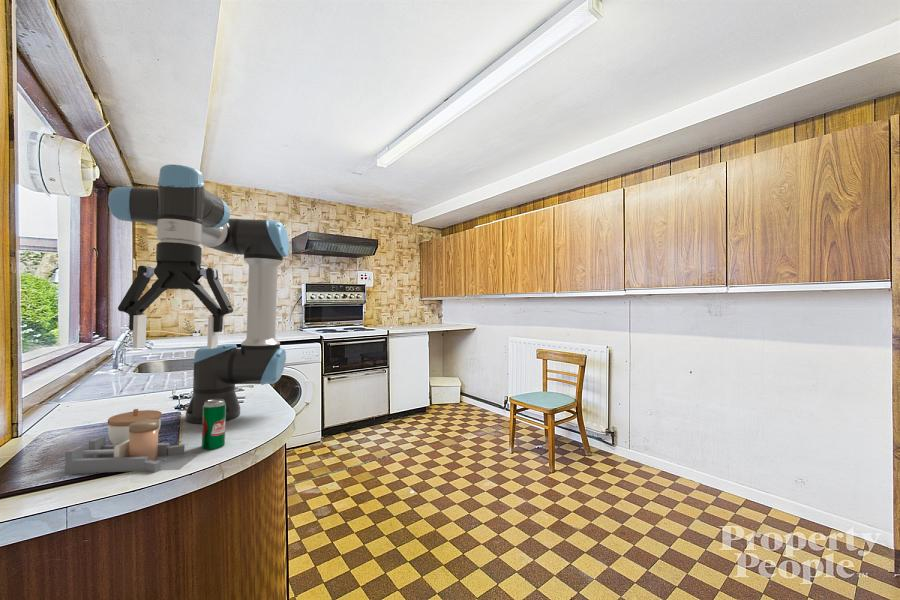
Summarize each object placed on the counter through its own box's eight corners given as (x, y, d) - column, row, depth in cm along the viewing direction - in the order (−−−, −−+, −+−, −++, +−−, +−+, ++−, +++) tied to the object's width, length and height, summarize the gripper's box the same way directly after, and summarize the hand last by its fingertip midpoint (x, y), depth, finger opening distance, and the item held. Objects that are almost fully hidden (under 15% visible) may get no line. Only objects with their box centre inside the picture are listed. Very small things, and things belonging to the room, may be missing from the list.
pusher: (85, 457, 88) (85, 438, 88) (137, 455, 90) (138, 436, 90) (61, 468, 82) (62, 448, 82) (118, 466, 84) (119, 446, 84)
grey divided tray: (102, 455, 91) (103, 434, 91) (203, 452, 94) (203, 432, 94) (60, 477, 80) (61, 453, 80) (176, 473, 83) (177, 450, 83)
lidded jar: (157, 435, 105) (158, 401, 105) (163, 446, 98) (165, 410, 98) (105, 445, 98) (106, 408, 98) (107, 457, 90) (109, 418, 90)
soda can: (213, 452, 95) (215, 404, 95) (196, 450, 96) (198, 402, 96) (229, 445, 100) (230, 399, 100) (212, 443, 101) (214, 397, 101)
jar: (137, 457, 89) (139, 419, 90) (163, 457, 90) (164, 419, 90) (121, 467, 84) (123, 426, 84) (148, 466, 85) (150, 426, 85)
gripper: (96, 237, 72) (92, 349, 72) (237, 243, 76) (234, 350, 75) (124, 243, 80) (120, 345, 79) (251, 249, 83) (248, 346, 83)
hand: (176, 348), depth 77 cm, fingers open, 13 cm apart
